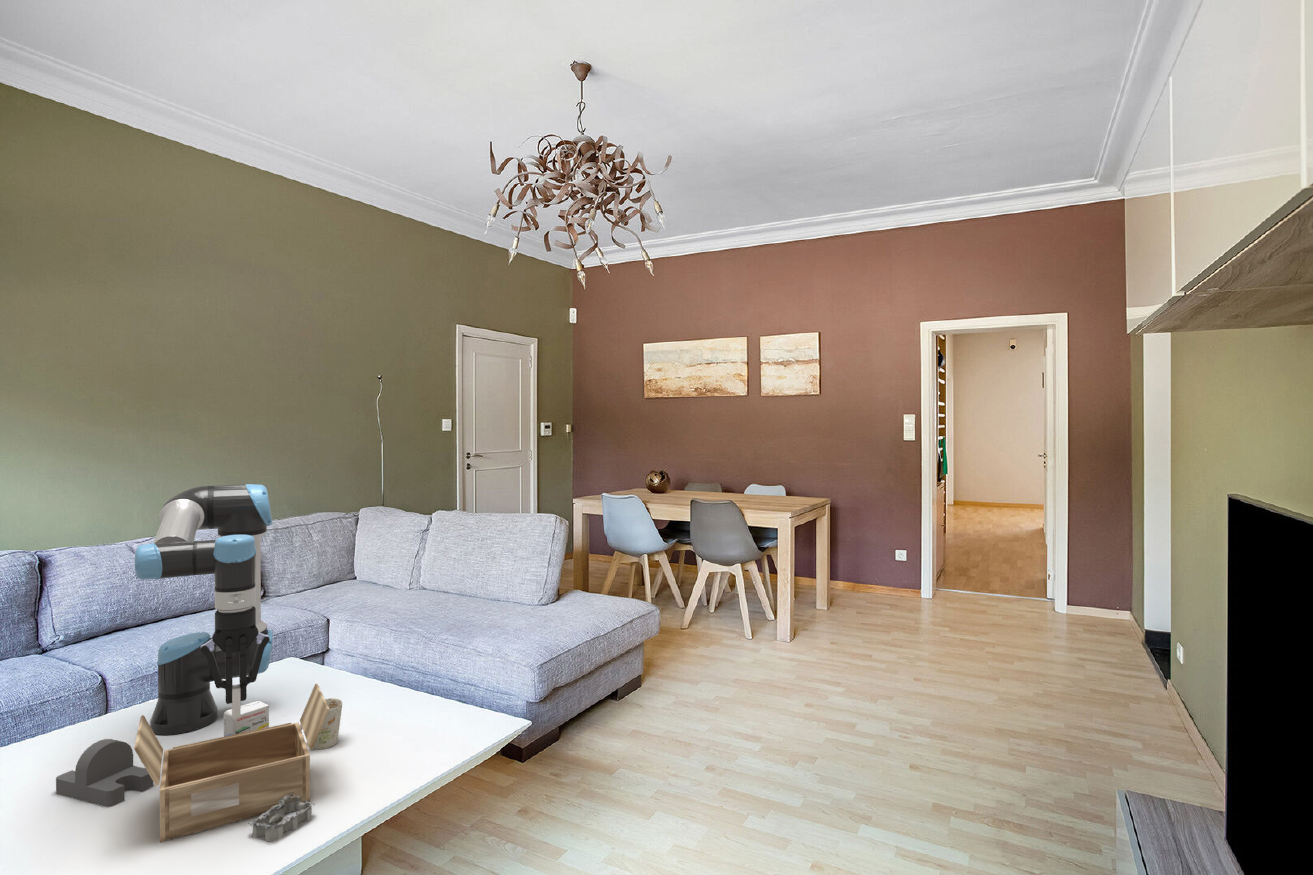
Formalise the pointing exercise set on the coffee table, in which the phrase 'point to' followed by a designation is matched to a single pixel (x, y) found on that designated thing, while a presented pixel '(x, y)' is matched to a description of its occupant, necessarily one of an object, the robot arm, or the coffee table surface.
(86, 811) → the coffee table surface
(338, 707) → the mug
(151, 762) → the flap
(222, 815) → the light wood open box
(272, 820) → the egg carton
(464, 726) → the coffee table surface
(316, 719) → the flap
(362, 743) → the coffee table surface
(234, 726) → the ink box
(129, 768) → the bracket
